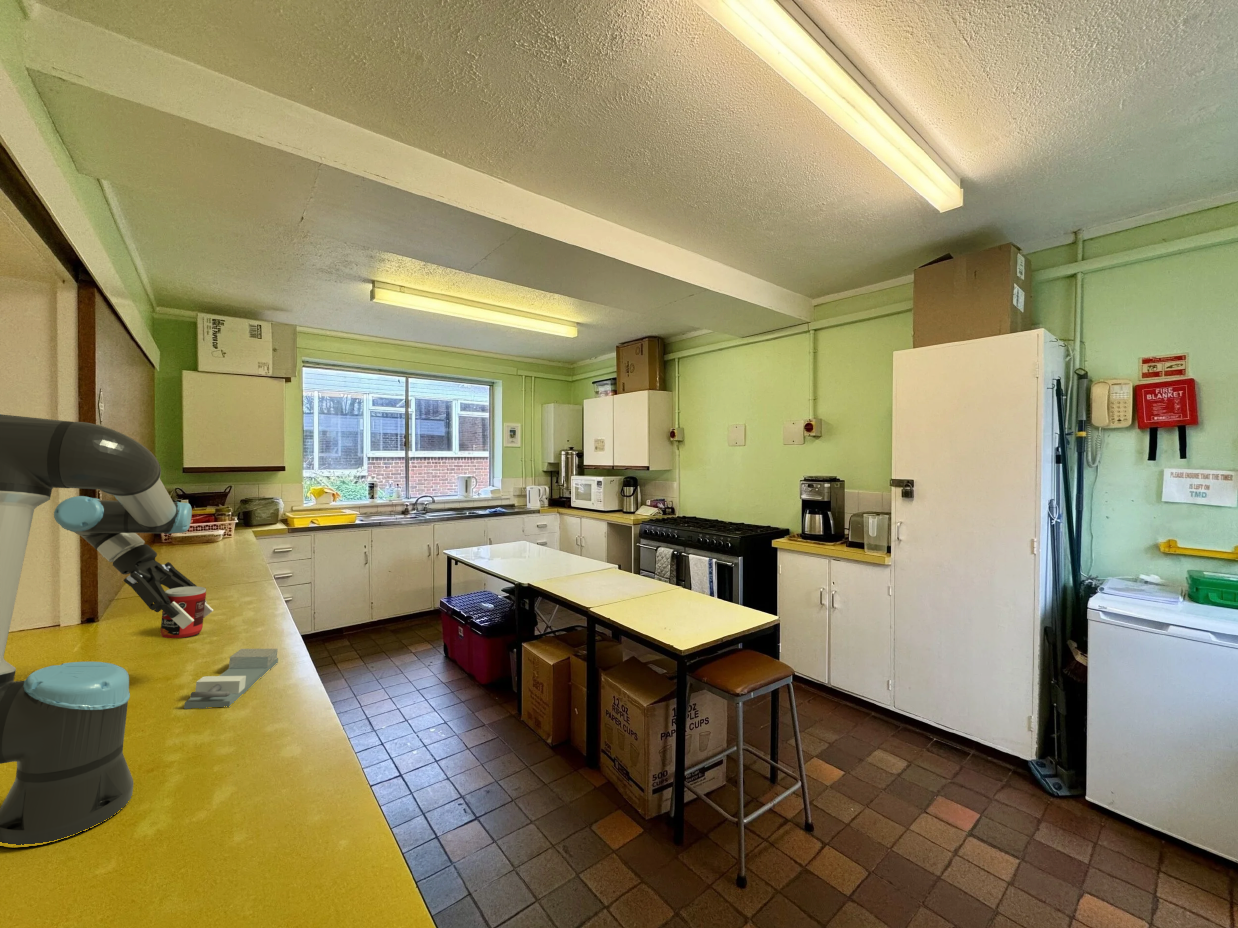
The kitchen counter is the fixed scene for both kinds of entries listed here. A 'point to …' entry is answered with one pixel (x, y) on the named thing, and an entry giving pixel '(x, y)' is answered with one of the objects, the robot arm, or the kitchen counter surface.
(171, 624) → the canned food
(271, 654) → the block
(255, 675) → the vise base
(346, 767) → the kitchen counter surface
